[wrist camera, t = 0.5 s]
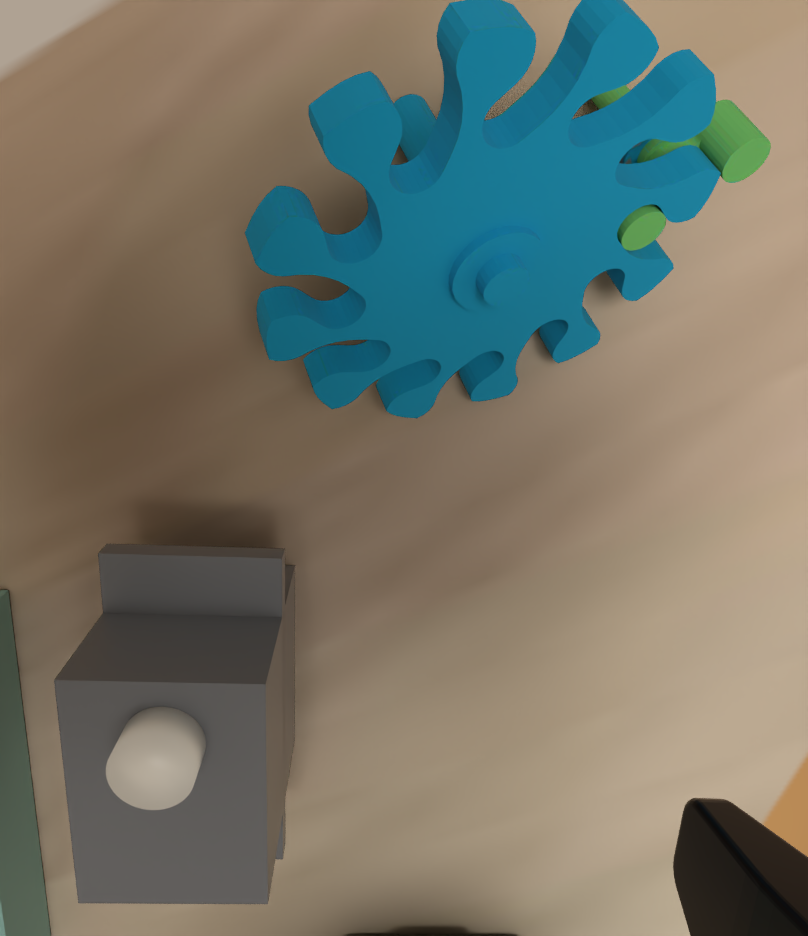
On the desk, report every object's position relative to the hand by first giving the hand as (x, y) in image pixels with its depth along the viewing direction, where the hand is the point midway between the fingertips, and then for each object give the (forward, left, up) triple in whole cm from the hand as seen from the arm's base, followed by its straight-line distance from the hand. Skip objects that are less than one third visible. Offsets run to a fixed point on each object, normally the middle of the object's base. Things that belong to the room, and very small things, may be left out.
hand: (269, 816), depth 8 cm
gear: (+6, -4, -14) cm, 15 cm away
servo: (-6, +3, -13) cm, 15 cm away
